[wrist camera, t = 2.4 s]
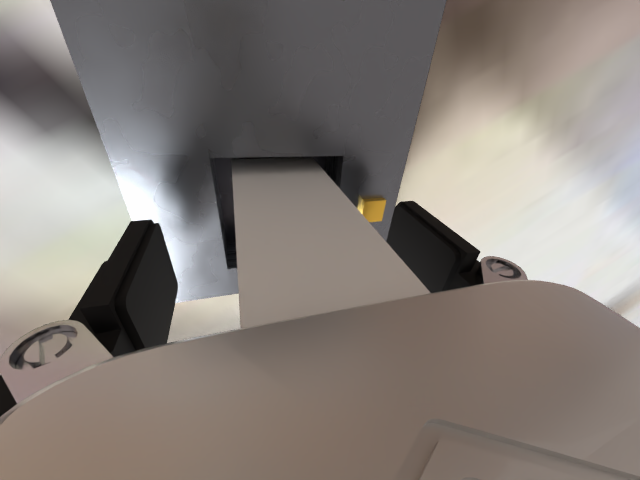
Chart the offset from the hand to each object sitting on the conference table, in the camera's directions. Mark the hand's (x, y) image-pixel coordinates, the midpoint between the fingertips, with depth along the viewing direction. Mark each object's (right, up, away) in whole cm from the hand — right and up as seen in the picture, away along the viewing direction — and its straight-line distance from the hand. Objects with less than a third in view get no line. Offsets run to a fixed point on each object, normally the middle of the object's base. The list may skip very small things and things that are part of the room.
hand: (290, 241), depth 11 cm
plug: (-1, +2, +3) cm, 4 cm away
